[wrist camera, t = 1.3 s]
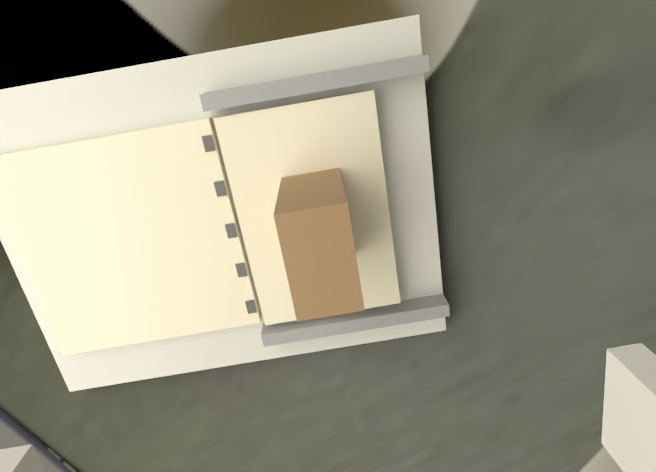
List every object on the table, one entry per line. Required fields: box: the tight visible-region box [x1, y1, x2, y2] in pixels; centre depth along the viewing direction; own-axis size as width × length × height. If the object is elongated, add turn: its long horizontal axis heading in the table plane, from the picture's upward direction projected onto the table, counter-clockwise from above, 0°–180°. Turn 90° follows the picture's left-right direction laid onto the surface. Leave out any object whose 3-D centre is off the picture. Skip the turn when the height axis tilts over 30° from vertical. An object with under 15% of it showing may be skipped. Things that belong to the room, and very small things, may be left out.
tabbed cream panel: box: [213, 89, 401, 325], centre depth 23 cm, size 8×12×7 cm, turn 9°
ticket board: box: [0, 15, 450, 392], centre depth 26 cm, size 24×18×2 cm
